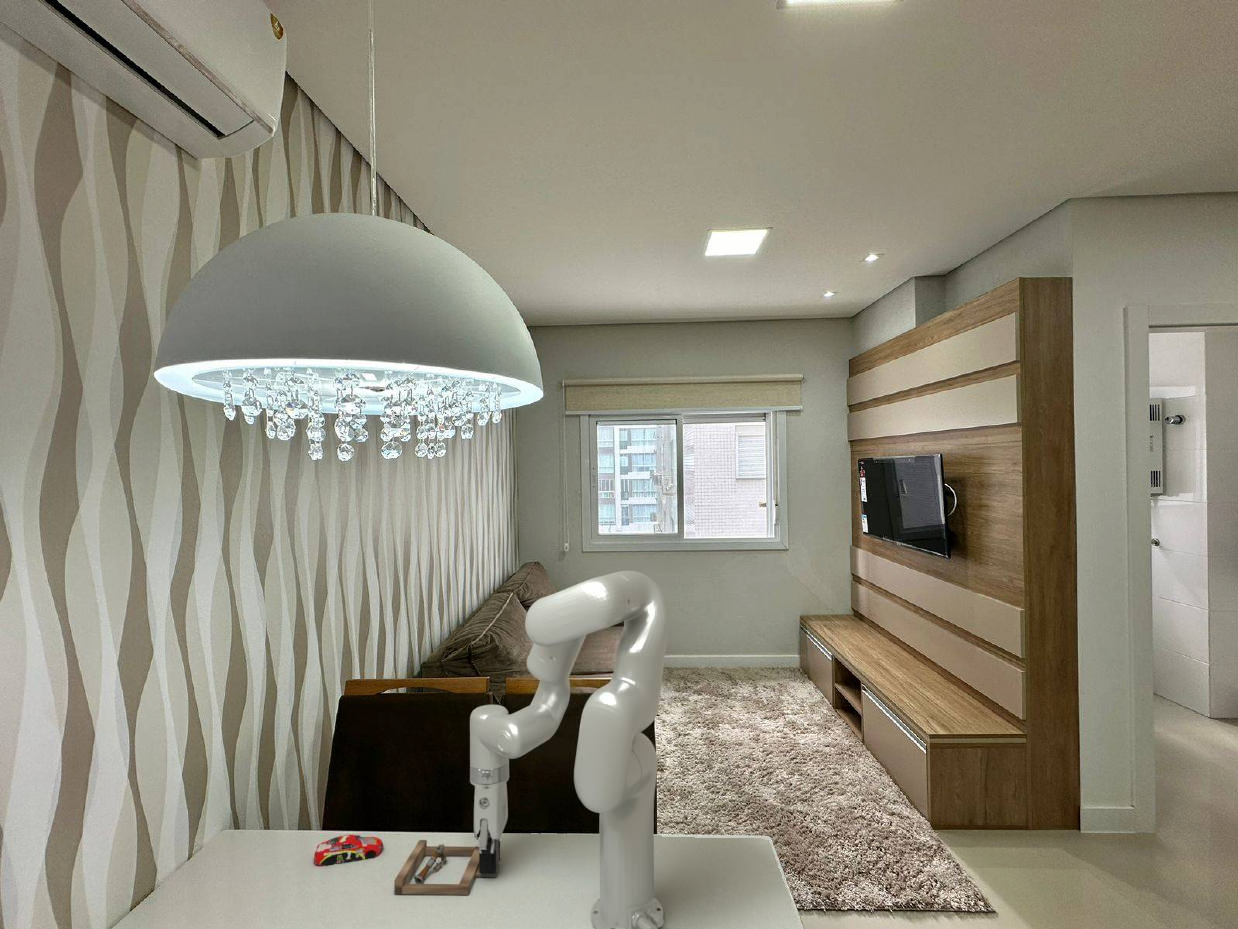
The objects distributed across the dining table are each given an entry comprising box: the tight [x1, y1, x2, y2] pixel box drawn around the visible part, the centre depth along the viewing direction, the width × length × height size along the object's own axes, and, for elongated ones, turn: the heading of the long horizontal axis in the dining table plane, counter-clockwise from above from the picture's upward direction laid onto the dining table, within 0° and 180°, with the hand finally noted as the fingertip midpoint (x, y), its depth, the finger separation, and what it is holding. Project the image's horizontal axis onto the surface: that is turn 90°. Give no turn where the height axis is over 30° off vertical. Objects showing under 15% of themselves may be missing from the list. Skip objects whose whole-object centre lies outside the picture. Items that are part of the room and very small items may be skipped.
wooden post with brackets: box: [412, 843, 448, 884], centre depth 133 cm, size 2×8×4 cm, turn 154°
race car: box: [313, 834, 384, 867], centre depth 139 cm, size 13×5×4 cm, turn 106°
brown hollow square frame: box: [393, 833, 500, 896], centre depth 132 cm, size 14×18×7 cm
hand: (489, 866), depth 132 cm, fingers closed on brown hollow square frame, 3 cm apart
